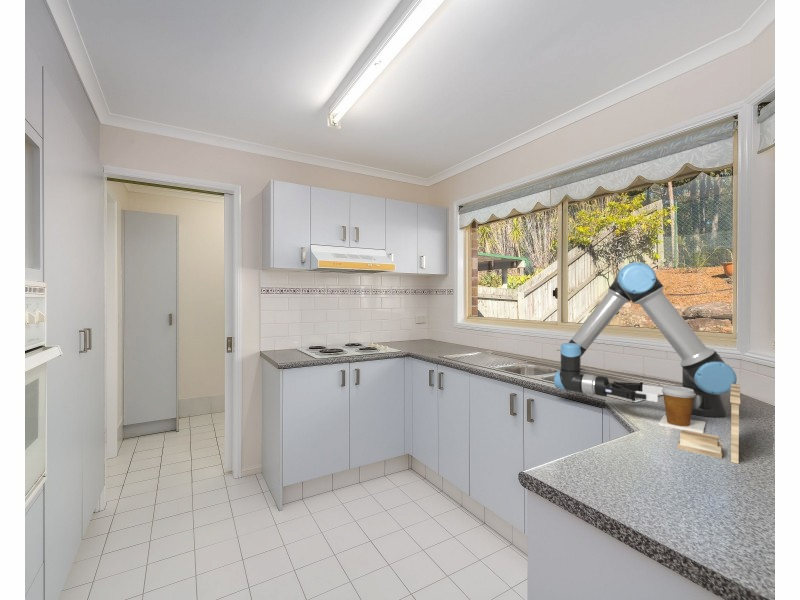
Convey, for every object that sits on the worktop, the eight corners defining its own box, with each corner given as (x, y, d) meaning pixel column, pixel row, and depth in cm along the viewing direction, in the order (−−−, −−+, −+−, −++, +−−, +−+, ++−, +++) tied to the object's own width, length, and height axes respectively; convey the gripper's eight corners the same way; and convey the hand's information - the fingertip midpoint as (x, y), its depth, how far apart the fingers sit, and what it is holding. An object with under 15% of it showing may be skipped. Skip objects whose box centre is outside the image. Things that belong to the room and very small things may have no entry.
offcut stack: (679, 444, 116) (680, 428, 116) (723, 453, 110) (723, 436, 110) (677, 449, 112) (677, 433, 112) (721, 459, 106) (722, 442, 106)
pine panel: (730, 437, 122) (731, 383, 122) (739, 439, 120) (739, 384, 120) (729, 462, 103) (730, 398, 103) (739, 464, 102) (740, 399, 102)
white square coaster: (664, 417, 142) (664, 414, 142) (705, 424, 134) (705, 421, 134) (659, 425, 133) (659, 422, 133) (703, 433, 125) (703, 430, 125)
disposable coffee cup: (701, 429, 126) (701, 392, 126) (667, 426, 129) (667, 390, 129) (688, 420, 135) (688, 386, 136) (657, 418, 138) (657, 384, 138)
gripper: (603, 389, 161) (665, 398, 147) (586, 401, 142) (655, 412, 128) (604, 371, 161) (665, 378, 147) (587, 380, 142) (655, 390, 128)
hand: (660, 394), depth 138 cm, fingers open, 13 cm apart
